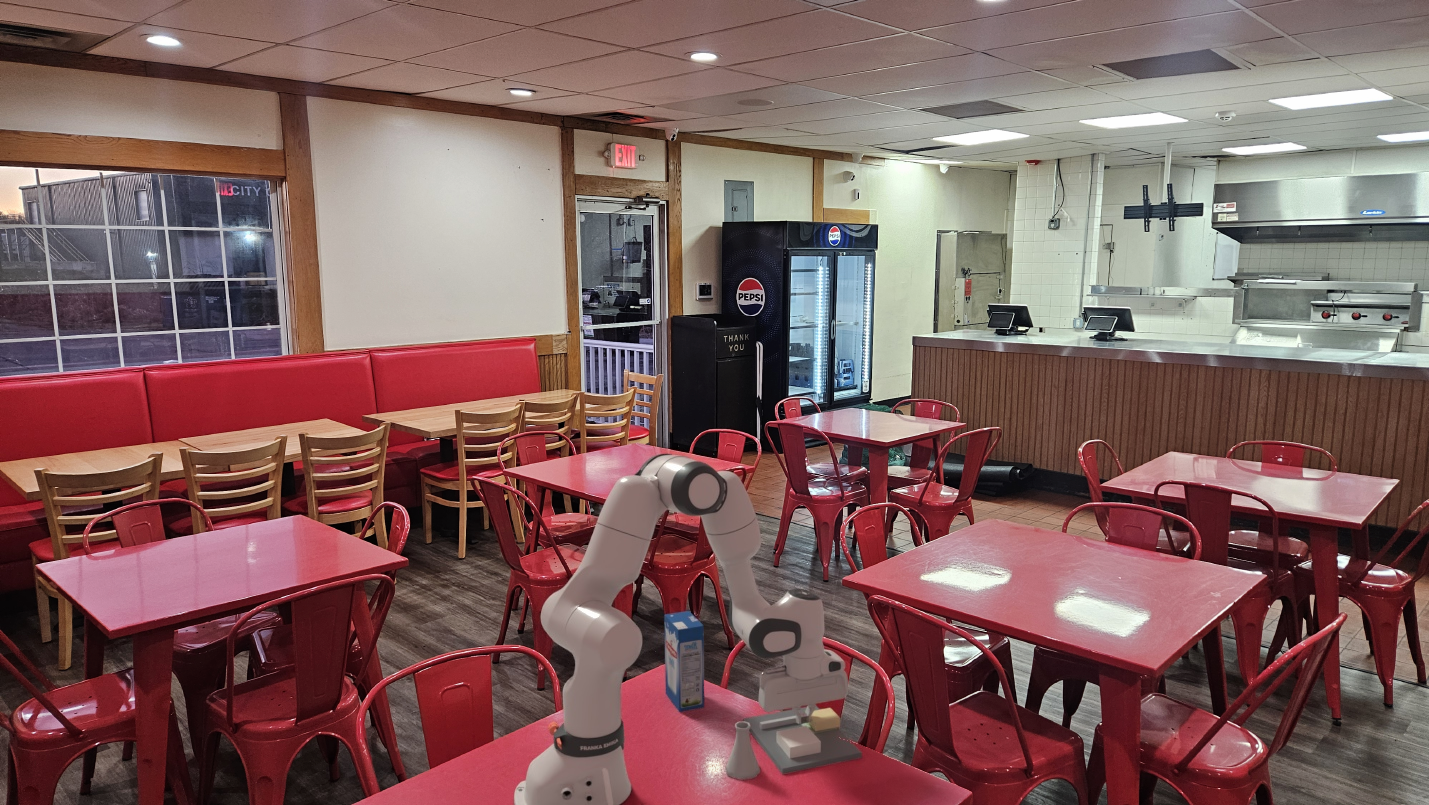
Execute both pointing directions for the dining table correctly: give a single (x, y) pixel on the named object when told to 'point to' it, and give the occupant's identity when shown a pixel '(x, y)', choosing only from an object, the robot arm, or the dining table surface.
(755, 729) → the ticket board
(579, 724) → the robot arm
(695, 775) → the dining table surface
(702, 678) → the milk carton
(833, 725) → the stub
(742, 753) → the flask
